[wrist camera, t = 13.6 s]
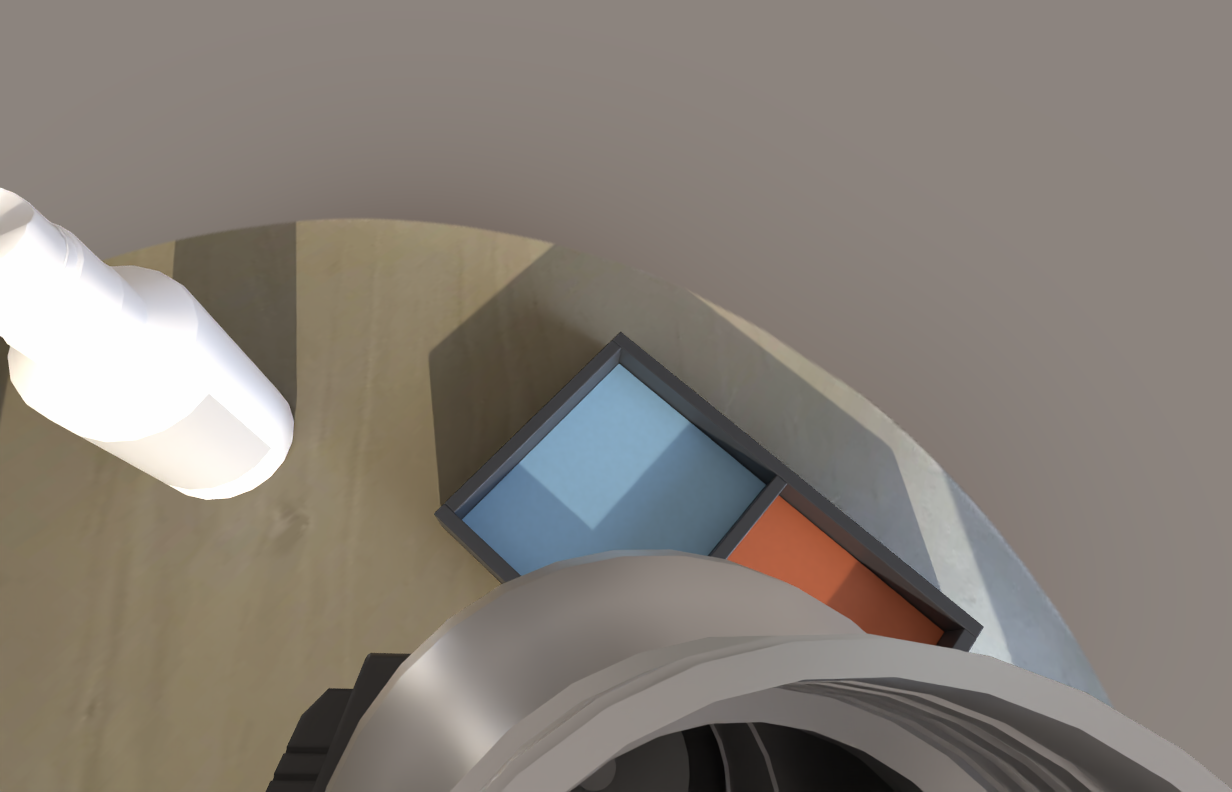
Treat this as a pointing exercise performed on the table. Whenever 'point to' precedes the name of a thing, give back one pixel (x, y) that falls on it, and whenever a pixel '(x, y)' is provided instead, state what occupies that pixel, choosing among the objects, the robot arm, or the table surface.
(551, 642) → the silver metal bottle
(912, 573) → the sorter
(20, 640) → the table surface
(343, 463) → the table surface
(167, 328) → the white bottle
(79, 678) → the table surface
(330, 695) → the robot arm
